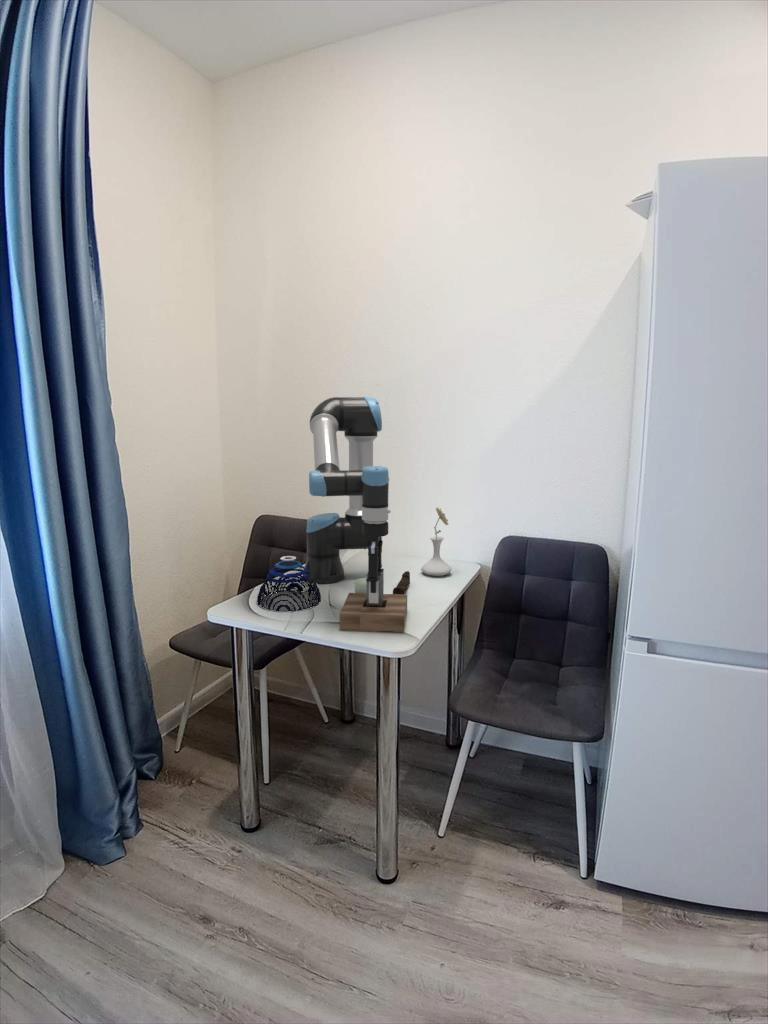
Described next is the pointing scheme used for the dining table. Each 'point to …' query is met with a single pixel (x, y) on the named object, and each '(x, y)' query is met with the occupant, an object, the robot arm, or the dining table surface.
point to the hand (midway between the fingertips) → (375, 598)
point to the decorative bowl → (289, 586)
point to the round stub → (360, 585)
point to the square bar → (381, 581)
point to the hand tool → (402, 584)
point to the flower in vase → (437, 554)
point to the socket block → (374, 613)
